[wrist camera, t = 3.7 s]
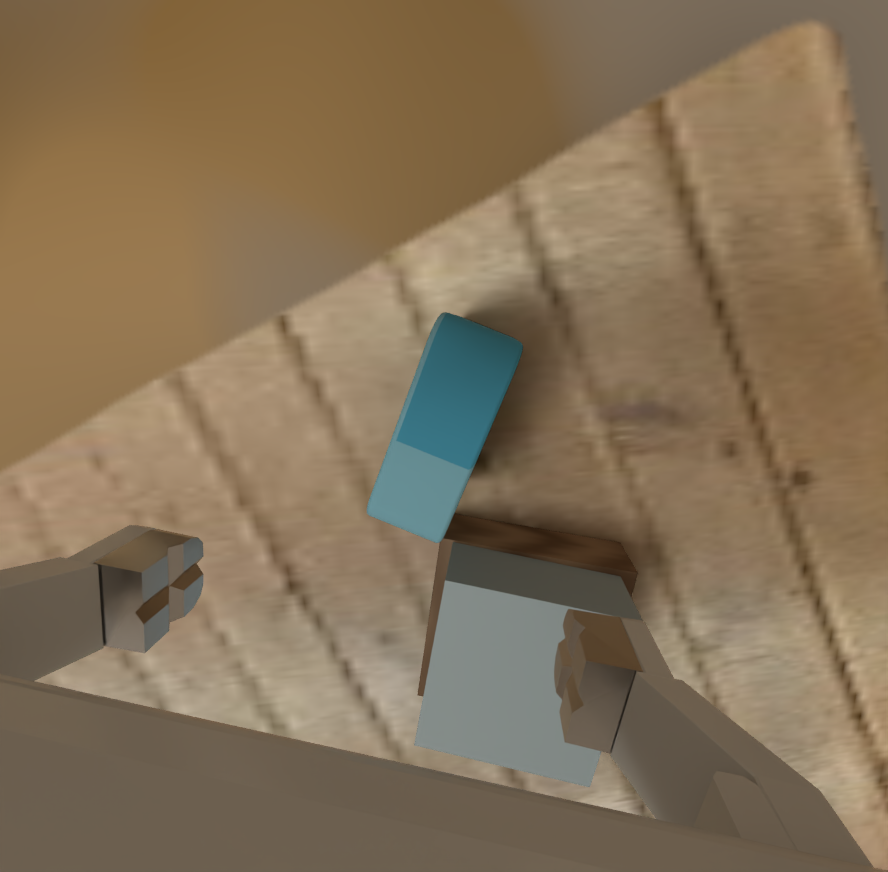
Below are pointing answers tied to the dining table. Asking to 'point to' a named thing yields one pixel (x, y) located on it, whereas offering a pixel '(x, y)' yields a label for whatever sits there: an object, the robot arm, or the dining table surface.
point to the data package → (443, 425)
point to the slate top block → (509, 660)
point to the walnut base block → (525, 544)
